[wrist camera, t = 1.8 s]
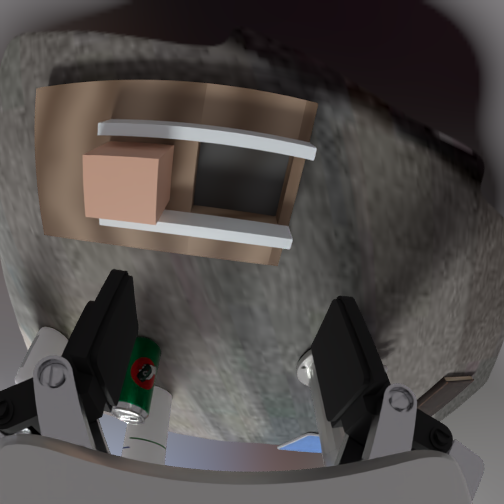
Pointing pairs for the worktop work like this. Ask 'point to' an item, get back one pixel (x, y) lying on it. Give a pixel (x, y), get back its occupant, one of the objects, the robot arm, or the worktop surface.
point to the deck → (184, 159)
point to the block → (127, 181)
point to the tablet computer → (303, 443)
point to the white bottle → (41, 351)
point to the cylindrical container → (150, 431)
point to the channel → (200, 222)
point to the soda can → (138, 382)
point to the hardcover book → (442, 393)
